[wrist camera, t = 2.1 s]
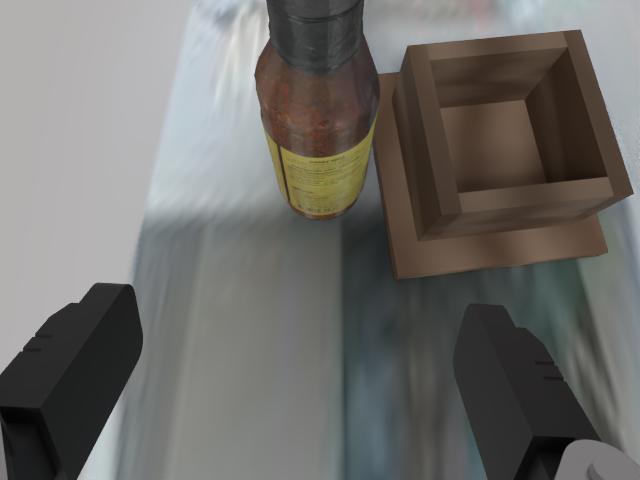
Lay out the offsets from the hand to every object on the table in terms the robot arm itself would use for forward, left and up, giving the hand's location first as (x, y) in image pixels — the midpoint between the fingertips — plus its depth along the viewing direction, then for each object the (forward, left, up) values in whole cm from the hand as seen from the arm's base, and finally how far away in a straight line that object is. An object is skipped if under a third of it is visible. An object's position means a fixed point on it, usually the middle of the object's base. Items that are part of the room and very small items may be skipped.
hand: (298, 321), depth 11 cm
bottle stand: (-14, -12, -20) cm, 27 cm away
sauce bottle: (-2, -12, -20) cm, 24 cm away
